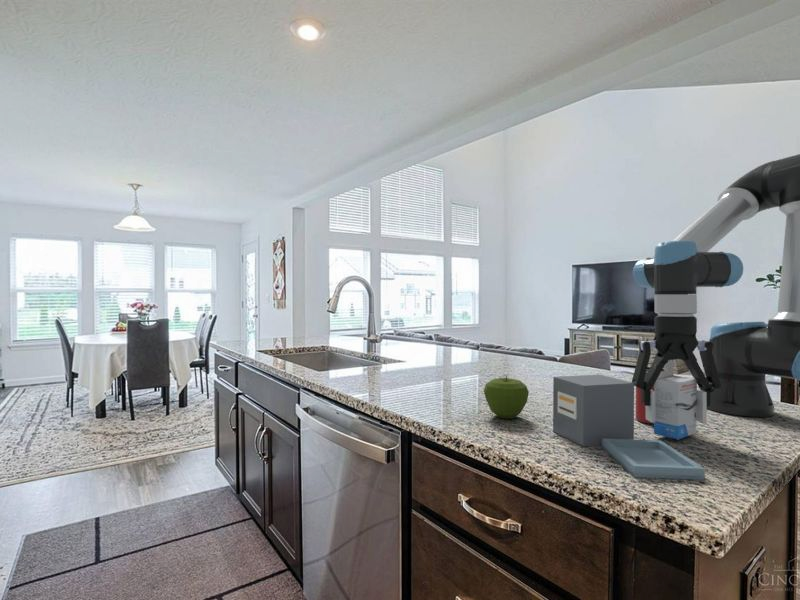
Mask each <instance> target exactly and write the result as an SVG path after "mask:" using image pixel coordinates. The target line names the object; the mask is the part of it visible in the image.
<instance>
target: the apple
mask: <svg viewBox="0 0 800 600" xmlns="http://www.w3.org/2000/svg"><path fill="white" fill-rule="evenodd" d="M483 393H484V396H485V401H486V403H487V405H488V407H489V409H490V411H491V413H493V414H494V415H495V416H497V417H499V418H501V419H506V420H507V419H508V420H513V419H515V418H516V417H517V416H519V415H520V414H521V413H522V411H523V410H524V408H525V406H526V404H528V403H527V402H528V398H529V390H528V387H527V385H526V384H525V383H523V382H522V380H520V379H514V378H508V376H505V377H499V378H493V379H492V380H490V381H488V382H487V383H485V386H484V389H483Z"/></svg>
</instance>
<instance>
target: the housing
mask: <svg viewBox="0 0 800 600" xmlns="http://www.w3.org/2000/svg"><path fill="white" fill-rule="evenodd" d="M552 389H553V393H552V395H553V397H552V398H553V399H552V400H553V403H552V404H553V405H552V408H553V410H552V432H554V433H556V434H558V435H560V436H562V437H563V438H565V439H567V440H570V441H571V442H573V443H575V444H578V445H579V446H582V447H593V446H602V438H604V439H634V440H635V438H634V437H635V433H634V432H635V431H634V430H635V386H634V383H632V381H629V380H623V379H620V378H615V377H611V376H608V375H603V374H588V375H587V374H586V375H566V376H565V375H564V376H563V375H562V376H561V375H560V376H553V388H552Z"/></svg>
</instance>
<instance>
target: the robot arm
mask: <svg viewBox="0 0 800 600" xmlns="http://www.w3.org/2000/svg"><path fill="white" fill-rule="evenodd" d="M716 201H717V202H715V204H713V205H712V206H711V207H710V208H708V209H707V210H706V211H705V212H703V214H702V215H700V216H699V217H698V218H697V219H696V220H695V221H693V222H692V223H691V224H690V225H688V227H687V228H685V230H683V231H682V232H681V233H679V235H677V237H675V238H674V239H673V240H671V241H663V242H659V243H658V244H656V245H655V248H654V256H652V257H646V258H643V259H639V260H638V261H637V262H635V264H634V267H633V269H632V277H633V279H634V282H635V283H636V284H637V285H638V286H639V287H641V288H647V289H649V288H650V289H654V313H655V314H657V315H655V317H654V319H653V320H654V323H653V325H654V338H653V339H652V340H647V341H645V340H640V341H639V342H638V348H639V352H638V356H637V359H636V360H637V361H636V365H635V368H634V372H633V375H632V379H631V382H632V383H634V387H635V388H636V387H638V388H640V389H641V402H642V404H643V405H645V406H646V420H648V421H650V422H651V423H655V391H653V390H651V389H652V387H653V385H654V384H655V382H656V380H657V378H658V376H659V375H660V373H661V371H663V370H664V368H665V367H664V366H665V364H666V363H668V362H670V361H671V360H673V361H674V360H681V361H683V362H684V364H685V365H686V367H687V368H688V370H689V372H690V374H691V376H692V378H695V379H696V380H697V387H698V388H699V389H698V388H697V422H699V423H701V424H705V425H707V421H708V420H707V419H708V418H707V410H711V411H714V412H718V413H723V414H727V415H728V414H729V415H734V416H741V417H742V416H743V417H757V418H758V417H759V418H763V417H764V418H767V417H772V416H774V415H775V405H774V402H773V399H772V396H771V394H770V392H769V389H768V387H767V384H766V375H767V376H774V377H779V378H786V379H792V380H796V381H800V153H798V154H796V155H792V156H788V157H783V158H781V159H780V158H779V159H777V160H772V161H770V162H765V163H764V164H761V165H759V166H757V167H754V168H753V169H752V170H749V171H748V172H746V173H745V174H744V175H742V176H741V177H739V178H738V179H737V180H735V181H734V182H733V183H731V184H730V185H729V186H727V188H725V189H724V190H723V191H722V192H721V193H720V194H719V195H718V197H717V200H716ZM773 208H778V210H779V211H780V212H781V213H783V214H784V215H785V216H786V219H785V227H784V241H783V249H782V258H781V259H782V260H781V261H782V262H781V272H780V279H779V280H780V283H779V293H778V302H777V311H776V314H774V315H772V316H771V317H770V318H768V319H767V320H768V322H767V325H766V322H765V321H744V322H743V321H742V322H726V323H716V324H714V325H712V326H711V328H710V335H709V339H708V340H698V339H697V333H698V332H697V331H698V323H697V321H698V318H697V317H696V316H694V315H695V314H697V313H698V311H697V309H698V305H697V304H698V302H697V294H698V293H697V291H698V290H697V288H709V287H711V288H713V287H714V288H723V287H730V286H733V285H735V284H736V283H738V282H739V281H740V280H741V278H742V276H743V274H744V263H743V261H742V260H741V258H740V257H739V256H737V255H736V254H734V253H731V252H724V251H716V252H715V251H711V250H712V249H713V248H714V247H715V246H716V245H717V244H719V242H720V241H722V239H724V238H725V237H726V236H727V235H728V234H729V233H730V232H732V231H733V230H734V229H735V228H736V227H737V226H738V225H739V224H740V223H741V222H743V221H746V220H750V219H752V218H753V217H754V216H756V215H757V214H758V213H760V212H762V211H766V210H768V209H773ZM654 348H655V349H656V350H657V352H656V354H655V355H654V357H653V359H654V360H653V361H652V363H651V365H650V367H649V368H648V365H649V362H650V359H651V354H652V351H653V349H654ZM696 348H697V350H698V351H699V356H700V359H701V364H702V368H703V370H702V368H701V366H700V365H699V364H700V363H698V358H696V355H695V353H694V351H695V350H696ZM655 365H656V367H655ZM663 367H664V368H663ZM647 369H648V372H647V374H646V370H647ZM703 371H704V372H703ZM645 374H646V376H645Z"/></svg>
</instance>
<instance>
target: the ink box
mask: <svg viewBox="0 0 800 600" xmlns="http://www.w3.org/2000/svg"><path fill="white" fill-rule="evenodd" d="M674 366H675V362H674V360H673V361H668V363H666V364H665V366H664V367H663V369H666V370H664V371H663V370H662V371H661V373H660V375H659V376H658V378H657V380H656V382H655V384H654V391H655V423H654V425H653V434H654V435H657V436H662V437H665V438H669V439H674V440H681V439H683V438H685V437H688V436H692V435H694V434H697V422H698V421H697V389H698V385H697V380H696V379H695V378H694V377H690V376H683V375H676V374H674V371H675V370H674V368H675V367H674ZM655 367H656V365H655Z"/></svg>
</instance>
